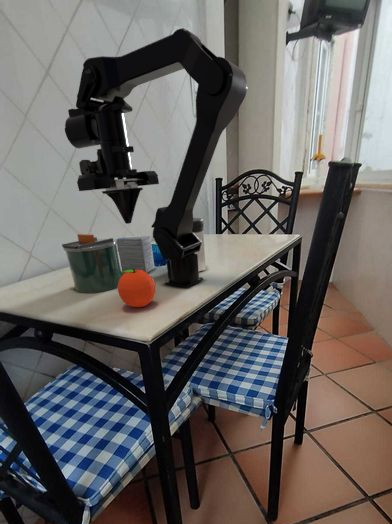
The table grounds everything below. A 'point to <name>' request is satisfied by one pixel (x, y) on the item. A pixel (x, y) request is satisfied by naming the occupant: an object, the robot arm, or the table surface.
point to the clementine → (136, 288)
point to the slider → (81, 241)
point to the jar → (199, 233)
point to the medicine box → (135, 253)
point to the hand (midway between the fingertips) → (128, 223)
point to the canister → (94, 265)
